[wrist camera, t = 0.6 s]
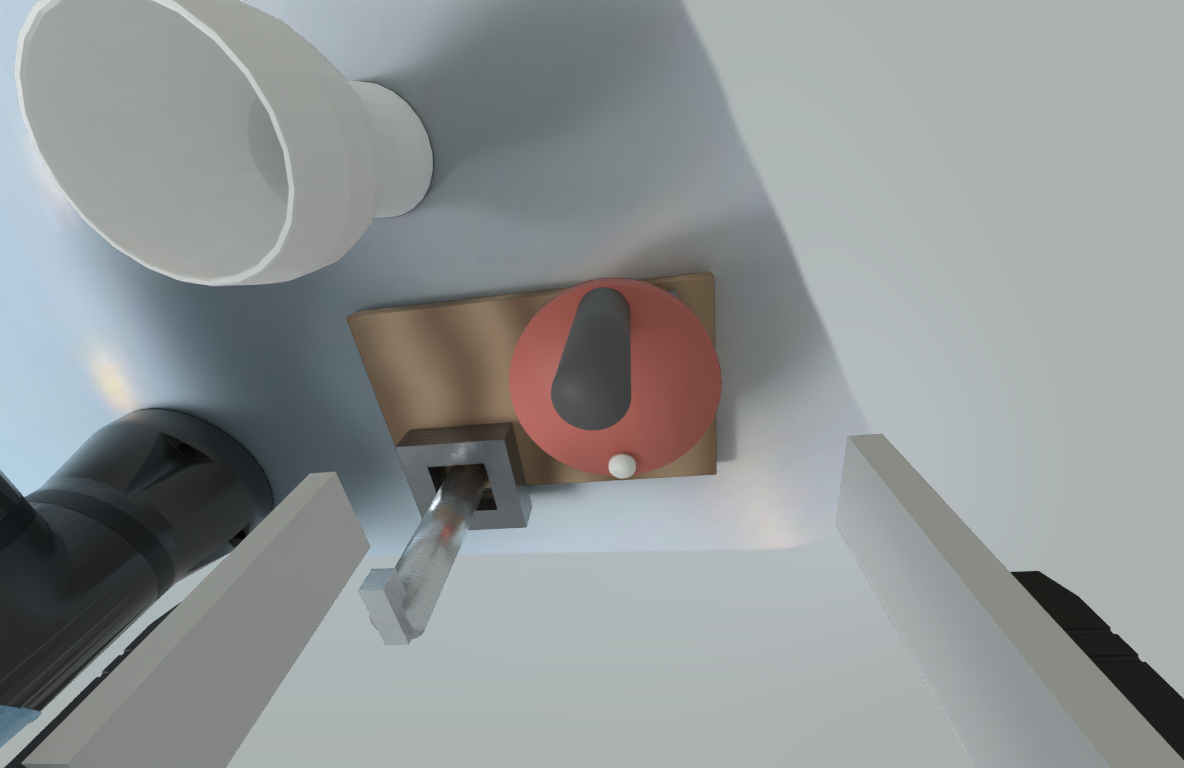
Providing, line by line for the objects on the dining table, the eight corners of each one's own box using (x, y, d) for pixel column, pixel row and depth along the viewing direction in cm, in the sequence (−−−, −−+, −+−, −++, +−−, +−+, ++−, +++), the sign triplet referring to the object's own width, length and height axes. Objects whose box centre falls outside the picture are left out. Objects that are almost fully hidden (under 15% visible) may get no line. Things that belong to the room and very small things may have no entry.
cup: (443, 51, 27) (254, -55, 13) (465, 240, 31) (343, 304, 18) (269, 53, 27) (-79, -47, 14) (316, 237, 32) (91, 297, 19)
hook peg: (459, 485, 39) (374, 651, 26) (443, 436, 37) (342, 591, 24) (495, 483, 39) (427, 651, 26) (481, 433, 37) (399, 589, 23)
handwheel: (535, 464, 33) (491, 609, 23) (496, 290, 28) (413, 375, 17) (716, 452, 32) (761, 602, 21) (714, 265, 26) (774, 342, 15)
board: (419, 481, 41) (397, 516, 37) (356, 311, 34) (320, 331, 30) (713, 463, 38) (723, 499, 34) (710, 271, 31) (722, 289, 27)
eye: (438, 511, 41) (427, 532, 38) (408, 429, 37) (394, 447, 35) (532, 506, 40) (526, 527, 37) (511, 421, 36) (504, 439, 34)
